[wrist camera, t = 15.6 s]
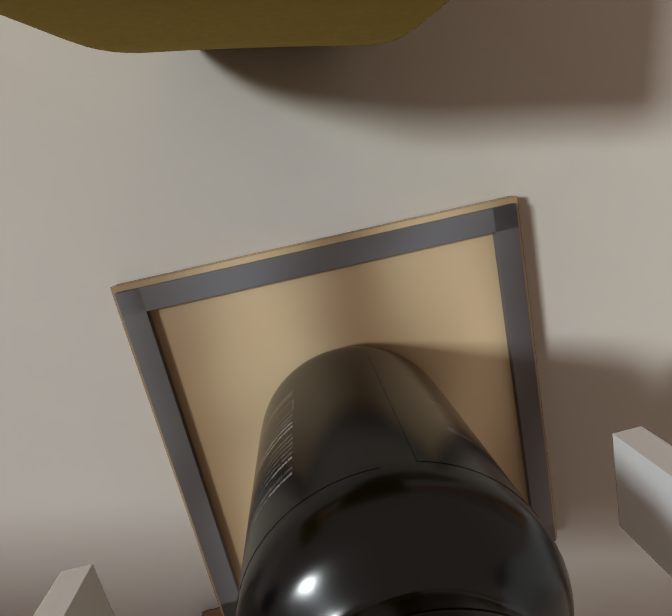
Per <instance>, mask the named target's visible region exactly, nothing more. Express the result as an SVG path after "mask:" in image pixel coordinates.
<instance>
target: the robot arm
mask: <svg viewBox="0 0 672 616" xmlns="http://www.w3.org/2000/svg"><path fill="white" fill-rule="evenodd" d="M612 434H613V447H614V460H615V473H616V486H617V499H618V512H619V525H620V526H621V527H622V528H623V529H624V530H625V531H626V532H627V533H628V534H629V535H630V536H631V537H632V538H633V539H634V540H635V541H636V542H637V543H638V544H639V545H640V546H641V547H642V548H643V549H644V550H645V551H646V552H647V553H648V554H649V555H650V556H651V557H652V558H653V559H654V560H655V561H656V562H657V563H658V564H659V565H660V566H661V567H662V568H663V569H664V570H665V571H666V572H667V573H668V574H669V575H670V576H671V577H672V446H671V445H670V444H668V443H667V442H665V441H664V440H662V439H660V438H659V437H657V436H656V435H654V434H653V433H651V432H650V431H648V430H647V429H645V428H643V427H642V426H640V427H636V428H632V429H628V430H624V431H620V432H616V433H612ZM33 616H114V614H113V612H112V609H111V607H110V605H109V602H108V600H107V597H106V595H105V593H104V590H103V588H102V585H101V583H100V580H99V578H98V576H97V573H96V571H95V568H94V566H93V564H89V565H85V566H81V567H77V568H73V569H69V570H65V571H61V572H60V573H59V575H58V577H57V578H56V580H55V581H54V583H53V585H52V586H51V588H50V589H49V591H48V593H47V594H46V596H45V597H44V599H43V601H42V602H41V604H40V605H39V607H38V609H37V610H36V612H35V613H34V615H33Z"/></svg>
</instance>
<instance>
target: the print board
mask: <svg viewBox="0 0 672 616" xmlns="http://www.w3.org/2000/svg"><path fill="white" fill-rule="evenodd" d="M111 291H112V294H113V297H114V300H115V303H116V306H117V309H118V312H119V315H120V318H121V321H122V324H123V326H124V329H125V332H126V335H127V338H128V341H129V344H130V347H131V350H132V353H133V356H134V359H135V361H136V364H137V367H138V370H139V373H140V376H141V379H142V382H143V385H144V388H145V391H146V394H147V396H148V399H149V402H150V405H151V408H152V411H153V414H154V417H155V420H156V423H157V426H158V429H159V431H160V434H161V437H162V440H163V443H164V446H165V449H166V452H167V455H168V458H169V461H170V464H171V466H172V469H173V472H174V475H175V478H176V481H177V484H178V487H179V490H180V493H181V496H182V499H183V501H184V504H185V507H186V510H187V513H188V516H189V519H190V522H191V525H192V528H193V531H194V534H195V536H196V539H197V542H198V545H199V548H200V551H201V554H202V557H203V560H204V563H205V566H206V569H207V572H208V574H209V577H210V580H211V583H212V586H213V589H214V592H215V595H216V598H217V601H218V604H219V607H220V609H221V612H222V615H223V616H236V609H237V598H238V590H239V583H240V576H241V568H242V561H243V554H244V547H245V540H246V533H247V526H248V519H249V512H250V504H251V497H252V490H253V483H254V476H255V469H256V462H257V455H258V448H259V441H260V435H261V430H262V424H263V420H264V416H265V413H266V410H267V407H268V405H269V402H270V400H271V398H272V396H273V395H274V393H275V391H276V390H277V388H278V387H279V386H280V384H281V383H282V382H283V381H284V379H285V378H286V377H287V376H288V375H289V374H290V373H291V372H293V371H294V370H295V369H296V368H297V367H299V366H300V365H301V364H303V363H304V362H306V361H307V360H309V359H311V358H313V357H315V356H317V355H319V354H322V353H324V352H327V351H330V350H334V349H338V348H343V347H351V346H366V347H375V348H381V349H384V350H388V351H391V352H394V353H396V354H399V355H401V356H403V357H405V358H407V359H408V360H410V361H411V362H413V363H414V364H415V365H417V366H418V367H419V368H421V369H422V370H423V371H424V372H425V373H426V374H427V375H428V376H429V377H430V379H431V380H432V381H433V382H434V383H435V384H436V386H437V387H438V388H439V389H440V390H441V392H442V393H443V394H444V395H445V397H446V398H447V399H448V401H449V402H450V403H451V405H452V406H453V407H454V408H455V410H456V411H457V412H458V414H459V415H460V416H461V417H462V419H463V420H464V421H465V423H466V424H467V425H468V426H469V428H470V429H471V430H472V432H473V433H474V434H475V436H476V437H477V438H478V439H479V441H480V442H481V443H482V445H483V446H484V447H485V448H486V450H487V451H488V452H489V454H490V455H491V456H492V457H493V459H494V460H495V461H496V463H497V464H498V465H499V467H500V468H501V469H502V470H503V472H504V473H505V474H506V476H507V477H508V478H509V479H510V481H511V482H512V483H513V485H514V486H515V487H516V488H517V490H518V491H519V492H520V494H521V495H522V496H523V498H524V499H525V500H526V501H527V503H528V504H529V505H530V507H531V508H532V509H533V511H534V512H535V513H536V515H537V516H538V518H539V519H540V521H541V522H542V523H543V525H544V526H545V528H546V529H547V531H548V532H549V534H550V535H551V537H552V539H553V540H554V541H556V538H557V532H556V523H555V515H554V506H553V498H552V489H551V481H550V472H549V464H548V455H547V447H546V438H545V430H544V421H543V413H542V404H541V396H540V387H539V379H538V370H537V362H536V353H535V345H534V336H533V328H532V319H531V311H530V302H529V294H528V285H527V277H526V268H525V260H524V251H523V243H522V234H521V226H520V217H519V208H518V200H517V196H507V197H503V198H499V199H494V200H490V201H485V202H481V203H476V204H472V205H467V206H463V207H459V208H454V209H450V210H445V211H441V212H436V213H432V214H428V215H423V216H419V217H414V218H410V219H405V220H401V221H396V222H392V223H388V224H383V225H379V226H374V227H370V228H365V229H361V230H357V231H352V232H348V233H343V234H339V235H334V236H330V237H326V238H321V239H317V240H312V241H308V242H303V243H299V244H294V245H290V246H286V247H281V248H277V249H272V250H268V251H263V252H259V253H255V254H250V255H246V256H241V257H237V258H232V259H228V260H224V261H219V262H215V263H210V264H206V265H201V266H197V267H192V268H188V269H184V270H179V271H175V272H170V273H166V274H161V275H157V276H153V277H148V278H144V279H139V280H135V281H130V282H126V283H122V284H117V285H115V286H113V287H111Z"/></svg>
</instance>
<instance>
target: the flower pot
mask: <svg viewBox="0 0 672 616" xmlns="http://www.w3.org/2000/svg"><path fill="white" fill-rule="evenodd" d="M448 1H449V0H0V15H3V16H6V17H8V18H11V19H13V20H16V21H18V22H21V23H24V24H26V25H29V26H31V27H34V28H37V29H39V30H42V31H44V32H47V33H50V34H52V35H55V36H57V37H60V38H63V39H65V40H68V41H71V42H74V43H77V44H80V45H83V46H86V47H90V48H94V49H98V50H105V51H111V52H123V53H147V52H165V51H183V50H205V49H231V48H259V47H296V46H364V45H375V44H381V43H386V42H389V41H392V40H396V39H398V38H400V37H402V36H403V35H405V34H406V33H408V32H410V31H411V30H413V29H414V28H416V27H417V26H418V25H419V24H421V23H422V22H423V21H424V20H426V19H427V18H428V17H429V16H431V15H432V14H433V13H434V12H436V11H437V10H438V9H439V8H441V7H442V6H443V5H444V4H446V3H447V2H448Z"/></svg>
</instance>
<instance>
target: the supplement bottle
mask: <svg viewBox="0 0 672 616" xmlns="http://www.w3.org/2000/svg"><path fill="white" fill-rule="evenodd" d="M236 616H574V604H573V595H572V589H571V584H570V580H569V575H568V572H567V569H566V566H565V563H564V560H563V558H562V555H561V553H560V551H559V549H558V547H557V545H556V543H555V542H554V540H553V539H552V537H551V535H550V534H549V532H548V531H547V529H546V528H545V526H544V525H543V523H542V522H541V521H540V519H539V518H538V516H537V515H536V513H535V512H534V511H533V509H532V508H531V507H530V505H529V504H528V503H527V501H526V500H525V499H524V498H523V496H522V495H521V494H520V492H519V491H518V490H517V488H516V487H515V486H514V485H513V483H512V482H511V481H510V479H509V478H508V477H507V476H506V474H505V473H504V472H503V470H502V469H501V468H500V467H499V465H498V464H497V463H496V461H495V460H494V459H493V457H492V456H491V455H490V454H489V452H488V451H487V450H486V448H485V447H484V446H483V445H482V443H481V442H480V441H479V439H478V438H477V437H476V436H475V434H474V433H473V432H472V430H471V429H470V428H469V426H468V425H467V424H466V423H465V421H464V420H463V419H462V417H461V416H460V415H459V414H458V412H457V411H456V410H455V408H454V407H453V406H452V405H451V403H450V402H449V401H448V399H447V398H446V397H445V395H444V394H443V393H442V392H441V390H440V389H439V388H438V387H437V386H436V384H435V383H434V382H433V381H432V380H431V379H430V377H429V376H428V375H427V374H426V373H425V372H424V371H423V370H422V369H421V368H419V367H418V366H417V365H415V364H414V363H413V362H411V361H410V360H408V359H407V358H405V357H403V356H401V355H399V354H396V353H394V352H391V351H388V350H384V349H381V348H375V347H366V346H351V347H343V348H338V349H334V350H330V351H327V352H324V353H322V354H319V355H317V356H315V357H313V358H311V359H309V360H307V361H306V362H304V363H303V364H301V365H300V366H299V367H297V368H296V369H295V370H294V371H293V372H291V373H290V374H289V375H288V376H287V377H286V378H285V379H284V381H283V382H282V383H281V384H280V386H279V387H278V388H277V390H276V391H275V393H274V395H273V396H272V398H271V400H270V402H269V405H268V407H267V410H266V413H265V416H264V420H263V424H262V430H261V435H260V441H259V448H258V455H257V462H256V469H255V476H254V483H253V490H252V497H251V504H250V512H249V519H248V526H247V533H246V540H245V547H244V554H243V561H242V568H241V576H240V583H239V590H238V598H237V609H236Z"/></svg>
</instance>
